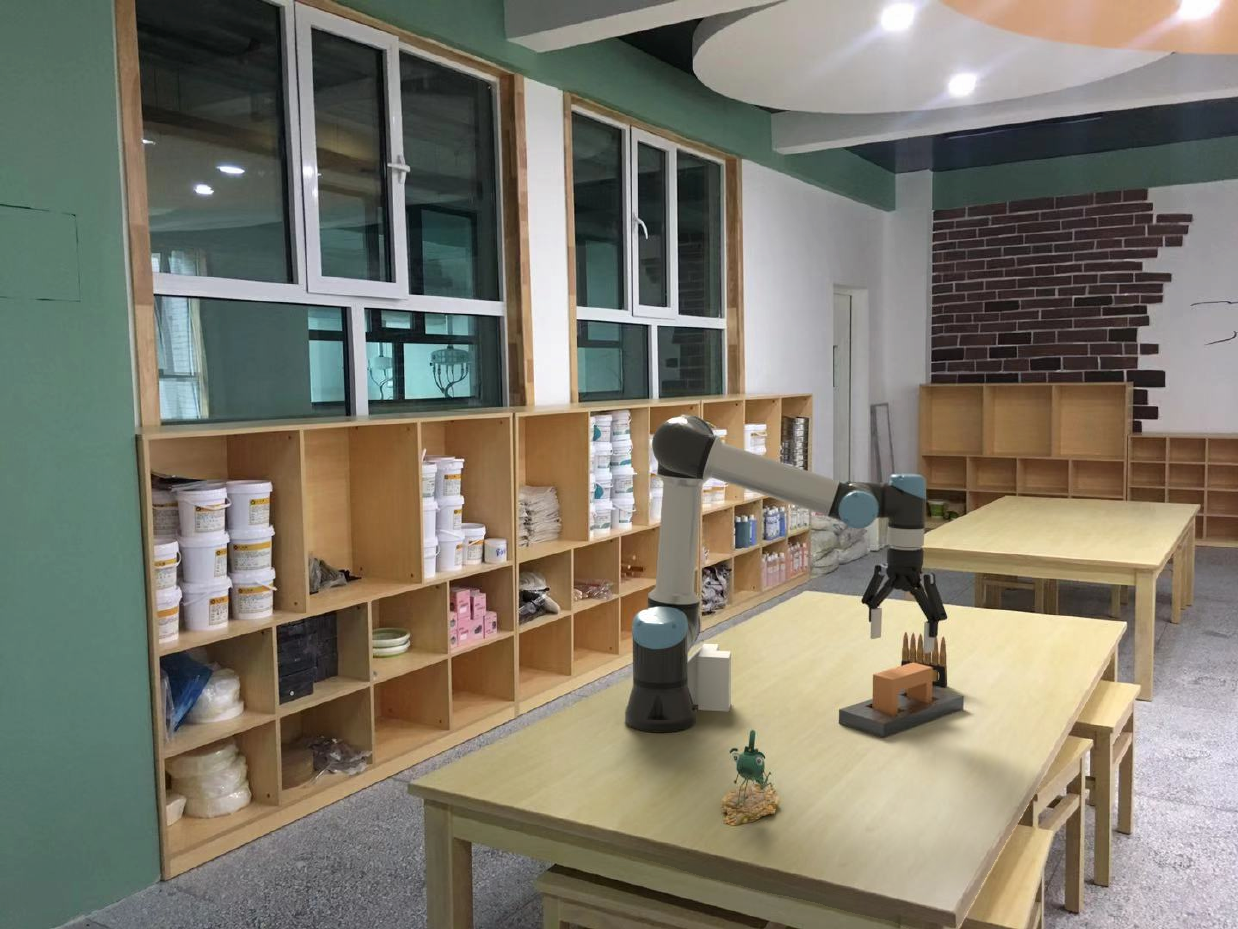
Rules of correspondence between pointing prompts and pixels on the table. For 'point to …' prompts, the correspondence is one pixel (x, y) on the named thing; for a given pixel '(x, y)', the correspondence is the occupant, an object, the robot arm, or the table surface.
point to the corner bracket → (710, 678)
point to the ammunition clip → (927, 658)
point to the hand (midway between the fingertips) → (901, 644)
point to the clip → (901, 686)
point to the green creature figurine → (750, 788)
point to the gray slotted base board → (900, 713)
